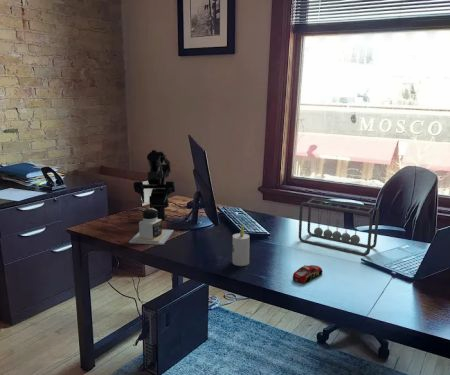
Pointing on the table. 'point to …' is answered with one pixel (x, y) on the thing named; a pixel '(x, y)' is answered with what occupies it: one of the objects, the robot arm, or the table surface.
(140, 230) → the medicine bottle
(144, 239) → the board
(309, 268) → the race car
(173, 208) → the table surface
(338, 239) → the newton's cradle
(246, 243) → the candle
